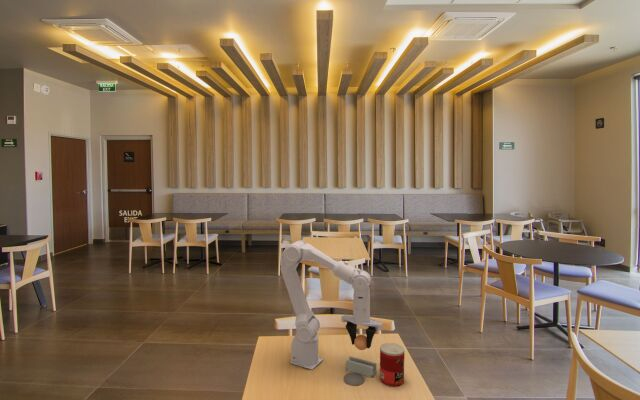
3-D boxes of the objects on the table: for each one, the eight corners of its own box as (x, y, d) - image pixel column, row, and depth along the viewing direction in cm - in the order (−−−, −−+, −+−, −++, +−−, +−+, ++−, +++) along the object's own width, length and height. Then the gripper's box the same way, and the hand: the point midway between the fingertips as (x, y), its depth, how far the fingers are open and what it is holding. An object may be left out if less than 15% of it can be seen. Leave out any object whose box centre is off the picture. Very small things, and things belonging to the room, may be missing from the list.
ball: (352, 350, 130) (351, 336, 130) (357, 344, 134) (357, 331, 134) (365, 353, 128) (365, 339, 127) (370, 347, 132) (370, 333, 132)
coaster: (339, 381, 124) (339, 381, 124) (349, 371, 130) (349, 370, 130) (359, 387, 121) (359, 387, 121) (367, 377, 127) (367, 376, 127)
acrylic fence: (345, 369, 131) (345, 360, 131) (349, 365, 134) (349, 356, 134) (372, 377, 126) (372, 367, 126) (376, 373, 129) (376, 363, 129)
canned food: (399, 389, 120) (399, 356, 119) (376, 381, 124) (376, 349, 123) (407, 377, 126) (407, 346, 125) (384, 371, 131) (385, 340, 130)
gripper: (385, 307, 129) (385, 345, 131) (347, 300, 136) (347, 336, 138) (378, 314, 123) (378, 354, 125) (338, 306, 130) (338, 344, 132)
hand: (361, 345), depth 131 cm, fingers closed on ball, 5 cm apart
